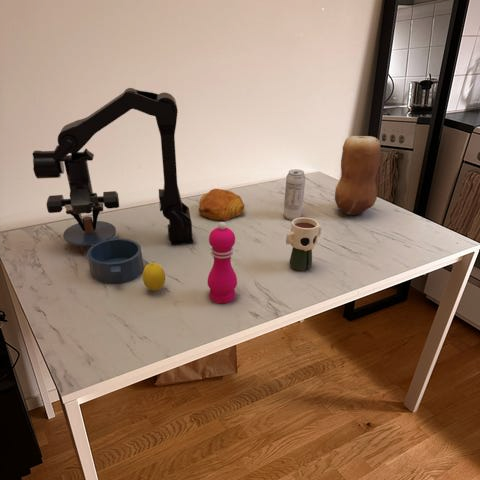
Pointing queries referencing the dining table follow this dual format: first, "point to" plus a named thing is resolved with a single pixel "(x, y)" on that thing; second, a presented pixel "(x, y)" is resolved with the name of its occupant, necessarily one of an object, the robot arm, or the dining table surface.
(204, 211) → the croissant
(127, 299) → the dining table surface
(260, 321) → the dining table surface
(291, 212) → the energy drink can
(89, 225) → the pot lid
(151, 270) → the lemon
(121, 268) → the pot
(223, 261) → the pepper mill
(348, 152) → the butternut squash
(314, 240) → the character mug
